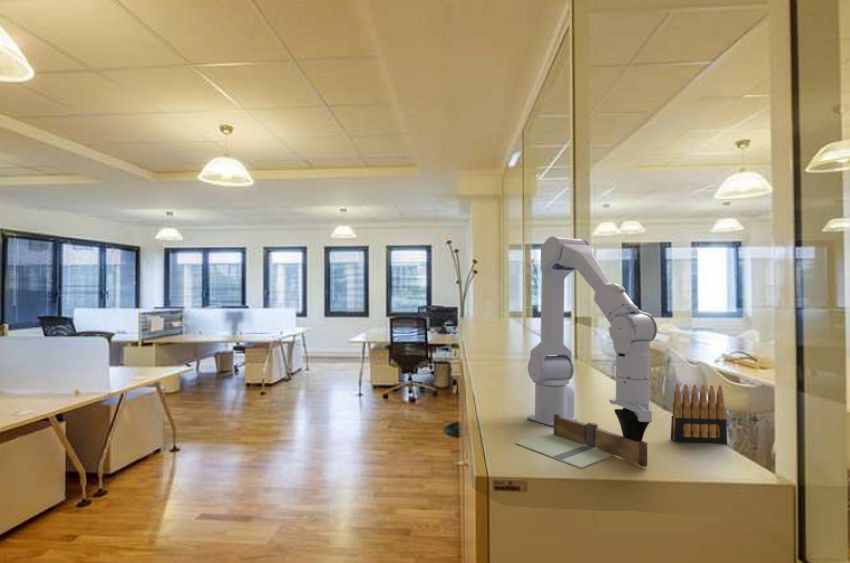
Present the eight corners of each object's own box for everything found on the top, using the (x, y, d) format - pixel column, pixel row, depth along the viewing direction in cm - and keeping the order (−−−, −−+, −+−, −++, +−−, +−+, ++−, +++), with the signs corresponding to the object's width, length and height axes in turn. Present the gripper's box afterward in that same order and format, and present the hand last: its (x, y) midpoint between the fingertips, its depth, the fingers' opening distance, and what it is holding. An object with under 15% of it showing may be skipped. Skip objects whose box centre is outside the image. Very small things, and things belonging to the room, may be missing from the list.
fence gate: (594, 446, 84) (594, 426, 84) (599, 445, 85) (600, 425, 85) (643, 467, 74) (643, 444, 74) (649, 466, 75) (649, 443, 75)
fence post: (557, 433, 93) (557, 412, 93) (599, 447, 85) (599, 424, 85) (551, 435, 92) (551, 414, 92) (593, 449, 84) (594, 426, 84)
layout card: (561, 430, 96) (561, 428, 96) (626, 450, 84) (626, 449, 84) (515, 443, 87) (515, 442, 87) (581, 468, 75) (581, 467, 75)
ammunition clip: (721, 441, 91) (721, 384, 91) (727, 444, 89) (727, 386, 89) (670, 439, 91) (670, 382, 91) (675, 442, 89) (675, 384, 90)
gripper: (600, 369, 88) (600, 435, 88) (620, 383, 74) (620, 463, 74) (637, 371, 87) (637, 438, 87) (664, 385, 73) (665, 466, 72)
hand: (632, 450), depth 80 cm, fingers closed
